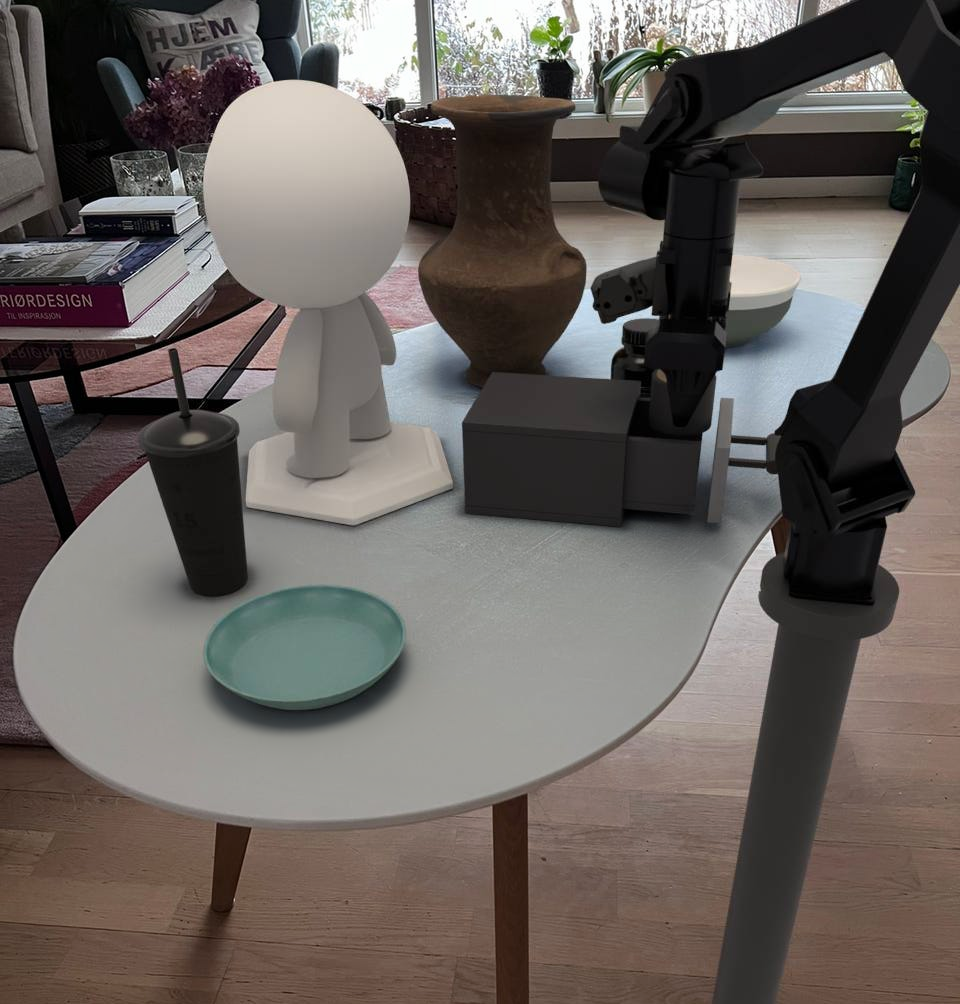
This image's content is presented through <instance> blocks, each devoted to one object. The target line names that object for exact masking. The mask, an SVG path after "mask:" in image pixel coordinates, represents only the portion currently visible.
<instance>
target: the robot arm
mask: <svg viewBox="0 0 960 1004" xmlns="http://www.w3.org/2000/svg"><path fill="white" fill-rule="evenodd" d="M890 61H892V62H893V64H894V67H895V70H896V72H897V74H898V77H899V79H900V82H901V84H902V88H903V90H905V92H906V93H907V94H908V95H909V96H910V97H911V98H913V99H914V100H915V101H916V102H917V103H918V104H919V105H920V106H921V107H923V108H924V109H925V110H926V111H927V113H926V116H925V120H924V123H923V127H922V129H921V130H922V131H921V133H920V135H919V153H920V165H921V166H920V167H921V186H920V189H919V193H918V194H917V196H916V199H915V200H914V203H913V205H912V207H911V209H910V212H909V214H908V216H907V217H906V220H905V222H904V224H903V226H902V229H901V231H900V233H899V235H898V237H897V240H896V242H895V244H894V246H893V248H892V250H891V251H890V254H889V257H888V259H887V261H886V264H885V265H884V268H883V270H882V271H881V274H880V276H879V278H878V281H877V283H876V285H875V287H874V289H873V291H872V294H871V296H870V298H869V300H868V302H867V304H866V306H865V308H864V311H863V312H862V315H861V317H860V319H859V320H858V321H859V322H858V324H857V326H856V328H855V330H854V332H853V335H852V336H851V339H850V341H849V343H848V345H847V347H846V349H845V351H844V354H843V356H842V358H841V360H840V362H839V364H838V366H837V369H836V371H835V373H834V375H833V376H832V378H831V379H830V380H826V381H822V382H818V383H816V384H812V385H808V386H805V387H801V388H798V389H796V390H795V392H794V393H793V394H792V396H791V397H790V400H789V403H788V407H787V409H786V410H787V411H786V414H785V416H784V419H783V421H782V423H781V424H780V425H779V426H778V428H776V429H775V430H774V432H773V433H775V435H777V436H781V437H780V439H779V441H778V443H777V446H776V450H775V461H776V463H777V471H778V474H777V479H778V488H779V496H780V497H779V498H780V505H781V513H782V517H783V518H784V519H786V520H788V521H790V522H789V525H788V532H787V537H786V543H785V547H784V548H785V549H784V552H785V554H784V560H783V577H784V578H785V579H786V580H788V589H789V596H790V597H792V598H795V599H806V600H816V601H826V602H836V603H846V604H856V605H866V606H872V605H874V603H875V599H876V598H875V592H874V581H875V577H876V572H877V568H878V564H879V563H880V559H881V554H882V551H883V546H884V542H885V538H886V533H887V530H888V524H887V518H886V517H889V516H892V515H894V514H900V513H903V512H905V510H906V509H907V508H908V507H909V505H910V503H911V502H912V500H913V499H914V497H915V495H916V489H915V487H914V486H913V483H912V481H911V479H910V477H909V475H908V472H907V471H906V468H905V466H904V464H903V462H902V460H901V458H900V456H899V454H898V452H897V450H896V449H897V447H898V443H899V441H900V437H901V435H902V432H903V428H904V427H903V426H904V423H903V422H904V421H903V412H902V403H901V398H902V395H903V392H904V390H905V388H906V387H907V385H908V384H909V381H910V379H911V377H912V375H913V373H914V371H915V370H916V368H917V366H918V364H919V362H920V360H921V359H922V357H923V355H924V353H925V351H926V349H927V348H928V345H929V343H930V342H931V339H932V338H933V336H934V334H935V333H936V331H937V328H938V327H939V325H940V324H941V321H942V319H943V317H944V315H945V313H946V312H947V310H948V307H949V306H950V304H951V303H952V300H953V299H954V297H955V295H956V292H957V291H958V289H959V287H960V0H849V1H847V2H845V3H843V4H841V5H839V6H836V7H834V8H831V9H829V10H828V11H825V12H823V13H821V14H819V15H817V16H814V17H813V18H811V19H808V20H806V21H804V22H801V23H799V24H797V25H795V26H793V27H791V28H789V29H787V30H785V31H782V32H780V33H778V34H775V35H773V36H771V37H770V38H767V39H765V40H763V41H761V42H759V43H756V44H754V45H752V46H746V47H741V48H734V49H733V48H732V49H727V50H726V49H725V50H720V51H713V52H707V53H702V54H695V55H690V56H684V57H680V58H678V59H675V60H674V61H673V62H671V64H669V66H668V67H667V68H666V70H665V72H664V78H665V79H664V81H663V83H662V84H661V86H660V88H659V90H658V92H657V94H656V96H655V98H654V99H653V101H652V103H651V105H650V107H649V109H648V111H647V112H646V114H645V116H644V118H643V120H642V122H641V123H639V122H638V123H631V124H623V125H621V126H620V128H619V137H618V138H619V139H618V141H617V142H615V144H613V145H612V146H611V147H610V149H609V150H608V151H607V153H606V154H605V156H604V158H603V160H602V163H601V166H600V168H599V170H598V174H597V185H598V191H599V194H600V196H601V199H602V200H603V202H605V203H606V204H607V205H608V206H610V207H611V208H613V209H617V210H620V211H622V212H626V213H628V214H629V213H630V214H633V215H637V216H640V217H643V218H647V219H650V220H652V221H653V220H654V221H663V222H664V224H663V234H662V240H660V242H659V250H657V251H656V254H655V256H653V257H649V258H646V259H641V260H637V261H635V262H632V263H628V264H625V265H623V266H620V267H617V268H616V267H615V268H614V269H611V270H608V271H605V272H602V273H600V274H598V275H596V276H595V277H594V279H593V281H592V284H591V285H590V287H589V288H590V292H591V295H592V298H593V303H592V309H593V310H594V311H595V312H597V314H598V317H599V320H600V323H601V324H602V325H606V324H611V323H615V322H616V321H617V319H619V318H622V317H626V316H628V315H632V314H635V313H638V312H641V311H645V310H647V309H649V308H651V316H652V317H658V318H657V319H658V322H657V323H656V324H655V325H654V326H653V327H652V328H650V329H649V332H648V336H647V339H646V342H645V355H644V366H646V367H648V368H651V369H660V370H661V371H662V372H663V373H664V374H665V376H666V380H667V386H668V393H669V399H670V406H671V413H672V420H673V425H674V426H675V427H686V426H687V424H688V422H689V420H690V418H691V417H692V415H693V413H694V411H695V409H696V408H697V406H698V404H699V402H700V400H701V398H702V397H703V395H704V393H705V391H706V390H707V388H708V386H709V385H710V383H711V381H712V379H713V378H714V376H715V375H716V374H717V373H718V372H720V371H723V369H724V362H725V353H726V347H725V345H726V335H727V333H726V332H725V331H724V330H725V328H726V321H727V317H726V312H728V311H729V303H730V294H731V284H732V283H731V282H730V272H731V264H732V255H733V253H734V247H735V246H734V243H735V238H736V237H735V236H736V229H737V227H736V226H737V219H738V209H739V201H740V192H741V182H742V180H745V179H746V180H747V179H752V178H758V177H761V176H762V175H763V173H764V168H763V166H762V165H761V163H760V160H758V158H756V156H755V155H753V153H752V152H751V151H750V149H749V146H748V143H747V141H740V142H739V141H738V142H732V143H728V144H727V143H726V144H724V145H723V146H722V147H721V149H720V148H716V147H711V146H707V145H714V144H720V143H723V142H725V141H726V140H727V139H728V138H733V137H740V136H745V135H746V134H749V133H750V132H752V131H754V130H755V129H757V128H758V127H760V126H761V125H763V124H764V123H766V122H767V121H769V120H771V119H772V118H773V117H775V116H776V114H777V113H778V112H779V110H780V109H781V107H782V106H783V105H784V104H785V103H788V102H789V101H790V100H791V99H793V98H795V97H798V96H800V95H803V94H805V93H809V92H811V91H814V90H817V89H819V88H822V87H824V86H827V85H829V84H832V83H834V82H837V81H840V80H843V79H845V78H847V77H850V76H853V75H855V74H858V73H860V72H863V71H867V70H868V69H871V68H874V67H876V66H879V65H881V64H884V63H886V62H890ZM694 147H698V148H695V149H694ZM879 565H880V564H879Z"/></svg>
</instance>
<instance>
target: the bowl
mask: <svg viewBox="0 0 960 1004" xmlns="http://www.w3.org/2000/svg"><path fill="white" fill-rule="evenodd" d="M801 281H802V276H801V273H800V272H799V271H798V270H797V268H795V267H793V266H791V265H789V264H787V263H784V262H782V261H778V260H776V259H775V260H774V259H771V258H766V257H760V256H755V255H746V254H735V253H734V254H733V255H732V264H731V272H730V282H731V283H732V284H731V294H730V303H729V311H728V312H726V317H727V321H726V328H725V330H724V331H725V332H726V333H727V335H726V345H725V348H734V347H741V346H744V345H746V344H748V343H749V342H751V341H752V340H753V339H756V338H757V337H759V336H761V335H763V334H766V333H767V332H769V331H770V330H772V329H773V328H774V327H776V326H777V325H778V324H780V322H782V320H783V319H784V318H785V316H787V313H788V312H789V311H790V308H791V305H792V301H793V298H794V294H795V292H796V289H797V288H798V286H799V285H800V283H801Z"/></svg>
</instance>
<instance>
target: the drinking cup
mask: <svg viewBox="0 0 960 1004" xmlns="http://www.w3.org/2000/svg"><path fill="white" fill-rule="evenodd" d="M167 352H168V357H169V358H168V359H169V362H170V367H171V373H172V377H173V382H174V387H175V388H174V389H175V393H176V397H177V402H178V408H179V411H175V412H171V413H168V414H167V415H164V416H162V417H160V418H158V419H155V420H154V421H152V422H150V423H149V424H146V425H145V426H144V427H143V428H142V429H140V431H139V433H138V436H137V441H138V445H139V447H140V449H142V450H143V451H144V452H145V455H146V459H147V461H148V464H149V467H150V470H151V473H152V476H153V479H154V482H155V485H156V488H157V492H158V494H159V497H160V500H161V503H162V506H163V509H164V512H165V514H166V517H167V518H166V519H167V521H168V524H169V527H170V530H171V533H172V536H173V539H174V542H175V545H176V548H177V551H178V554H179V557H180V560H181V563H182V566H183V568H184V572H185V575H186V578H187V581H188V585H189V587H190V589H191V590H192V591H193V592H194V593H196V594H198V595H201V596H206V597H218V596H224V595H228V594H230V593H234V592H236V591H238V590H239V589H241V588H243V587H244V586H245V585H246V583H247V582H248V578H249V574H248V563H247V550H246V538H245V524H244V510H243V498H242V497H243V496H242V486H241V485H242V484H241V483H242V482H241V473H240V471H241V470H240V459H239V447H238V446H239V445H238V438H239V436H240V430H241V429H240V425H239V423H238V421H237V420H236V419H235V418H234V417H233V416H231V415H228V414H225V413H221V412H214V411H210V410H205V409H190V407H189V402H188V396H187V391H186V386H185V381H184V375H183V371H182V366H181V362H180V361H181V360H180V356H179V350H178V348H177V347H172V348H168V350H167Z"/></svg>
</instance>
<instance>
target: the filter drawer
mask: <svg viewBox="0 0 960 1004" xmlns="http://www.w3.org/2000/svg"><path fill="white" fill-rule="evenodd" d="M734 400H735V399H734V398H732V397H720V401H719V409H718V419H717V420H718V421H717V426H716V434H715V435H716V436H715V443H714V452H713V459H712V469H711V479H710V488H709V489H710V490H709V499H708V507H707V508H708V510H707V517H706V522H707V523H710V524H721V523H722V517H723V509H724V501H725V494H726V485H727V477H728V469H729V467H733V468H734V467H735V468H747V469H748V468H749V469H760V470H761V469H762V470H766V472H767V473H768V474H770V475H773V476H774V475H778V471H777V463H776V461H775V450H776V446H777V443H778V441H779V439H780V437H781V436H777V435H775V433H774V432H773V433H770V434H768V435H767V436H765V437H763V436H749V435H735V434H732V429H733V416H734V414H733V413H734V402H735V401H734ZM649 410H650V398H644V397H638V400H637V404H636V408H635V411H634V415H633V419H632V423H631V426H630V430H629V434H628V437H627V449H626V465H625V480H624V496H623V509H625V510H634V511H645V512H656V513H657V512H659V513H670V514H681V515H694V511H695V503H696V502H695V501H696V495H697V494H696V493H697V485H698V480H699V471H700V462H701V452H702V443H703V435H704V433H701V434H697V435H691V436H675V435H668V434H664V433H661V432H658V431H656V430H654V429H653V428H651V427H650V425H649ZM731 444H736V445H750V446H764V447H765V459H754V458H753V459H752V458H742V457H741V458H740V457H739V458H738V457H730V454H731Z"/></svg>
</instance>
